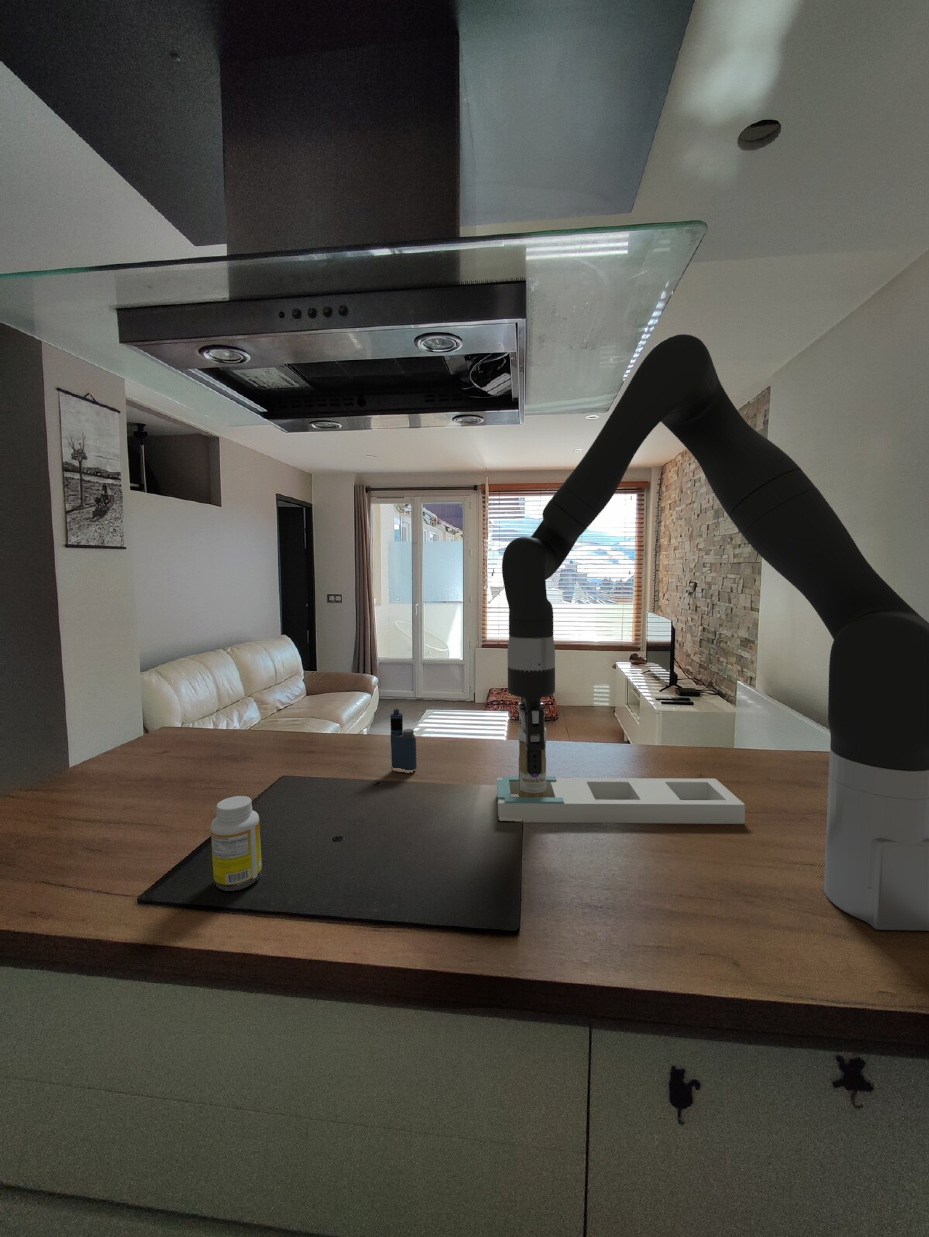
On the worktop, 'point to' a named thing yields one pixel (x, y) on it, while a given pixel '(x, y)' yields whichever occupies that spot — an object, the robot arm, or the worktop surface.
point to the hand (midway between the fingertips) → (531, 763)
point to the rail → (622, 801)
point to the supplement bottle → (235, 842)
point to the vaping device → (402, 744)
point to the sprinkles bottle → (528, 782)
